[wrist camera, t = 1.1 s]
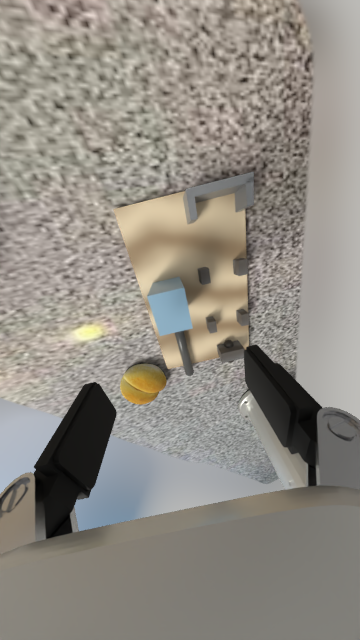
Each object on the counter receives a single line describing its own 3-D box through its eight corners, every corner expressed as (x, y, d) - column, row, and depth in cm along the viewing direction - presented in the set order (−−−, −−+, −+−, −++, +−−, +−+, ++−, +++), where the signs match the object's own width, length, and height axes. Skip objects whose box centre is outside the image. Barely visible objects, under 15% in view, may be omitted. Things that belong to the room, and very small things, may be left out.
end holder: (241, 210, 19) (253, 204, 17) (187, 224, 19) (190, 220, 17) (240, 183, 18) (253, 171, 15) (182, 197, 18) (185, 188, 16)
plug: (199, 369, 30) (208, 401, 24) (179, 373, 30) (183, 406, 24) (179, 276, 22) (184, 287, 16) (152, 283, 22) (146, 296, 16)
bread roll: (173, 371, 31) (173, 387, 27) (150, 397, 34) (148, 415, 30) (136, 354, 29) (132, 369, 25) (115, 384, 31) (108, 401, 28)
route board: (247, 351, 30) (256, 363, 27) (168, 369, 30) (168, 382, 27) (241, 178, 19) (256, 164, 15) (115, 210, 19) (105, 203, 16)
